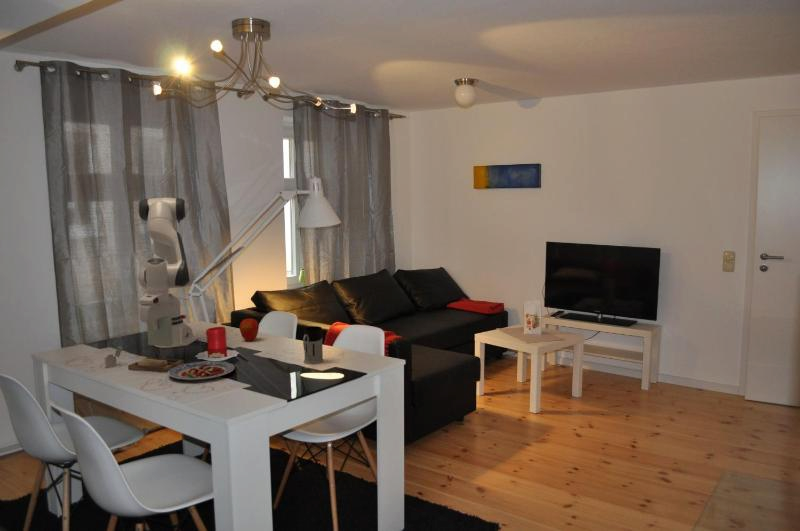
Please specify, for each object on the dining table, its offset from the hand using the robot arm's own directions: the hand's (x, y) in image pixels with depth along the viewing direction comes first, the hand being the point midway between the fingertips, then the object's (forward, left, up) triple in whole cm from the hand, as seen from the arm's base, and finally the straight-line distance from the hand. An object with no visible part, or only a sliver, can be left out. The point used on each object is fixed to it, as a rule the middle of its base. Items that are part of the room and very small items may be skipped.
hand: (159, 328), depth 269 cm
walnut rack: (+3, 0, -16) cm, 16 cm away
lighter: (+6, -19, -16) cm, 26 cm away
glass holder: (-18, +62, -16) cm, 67 cm away
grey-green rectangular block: (0, 0, -7) cm, 7 cm away
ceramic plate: (+8, +25, -17) cm, 31 cm away
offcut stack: (+6, 0, -16) cm, 17 cm away
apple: (-50, +15, -16) cm, 55 cm away
